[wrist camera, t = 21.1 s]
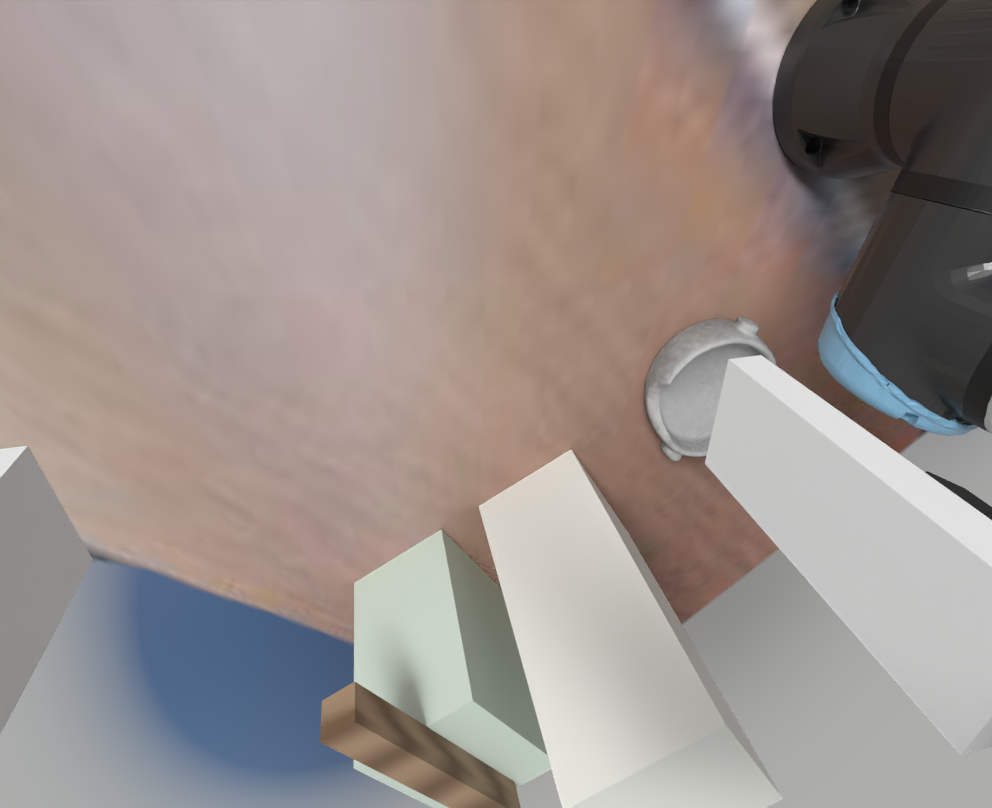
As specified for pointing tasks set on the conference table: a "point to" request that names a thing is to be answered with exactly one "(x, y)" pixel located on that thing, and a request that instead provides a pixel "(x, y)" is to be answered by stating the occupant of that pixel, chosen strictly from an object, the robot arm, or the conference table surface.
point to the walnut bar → (410, 752)
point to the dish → (696, 381)
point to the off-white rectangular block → (611, 657)
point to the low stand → (447, 658)
